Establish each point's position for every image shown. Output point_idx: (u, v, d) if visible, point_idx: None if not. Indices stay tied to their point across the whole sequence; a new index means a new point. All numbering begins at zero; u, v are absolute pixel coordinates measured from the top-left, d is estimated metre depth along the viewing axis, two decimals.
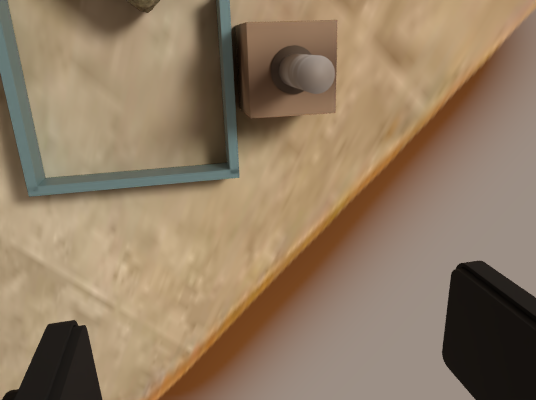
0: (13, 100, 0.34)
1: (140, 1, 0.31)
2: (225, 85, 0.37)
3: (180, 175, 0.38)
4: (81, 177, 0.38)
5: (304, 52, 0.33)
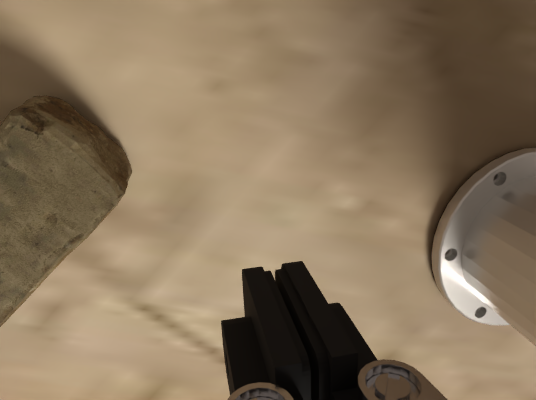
0: None
1: None
2: None
3: None
4: None
5: None
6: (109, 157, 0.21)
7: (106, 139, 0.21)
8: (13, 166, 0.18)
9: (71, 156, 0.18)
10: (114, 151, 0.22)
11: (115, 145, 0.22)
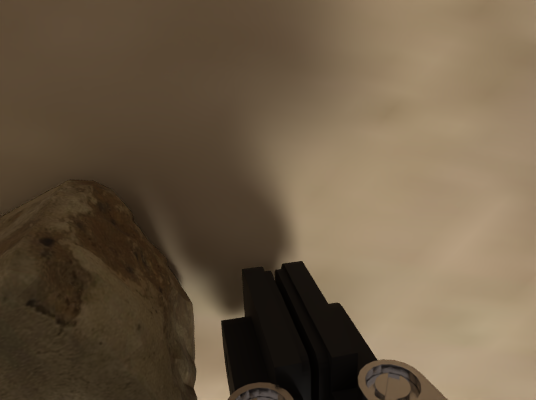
0: None
1: None
2: None
3: None
4: None
5: None
6: (178, 345, 0.10)
7: (177, 293, 0.11)
8: None
9: (122, 378, 0.08)
10: (182, 314, 0.11)
11: (183, 297, 0.11)
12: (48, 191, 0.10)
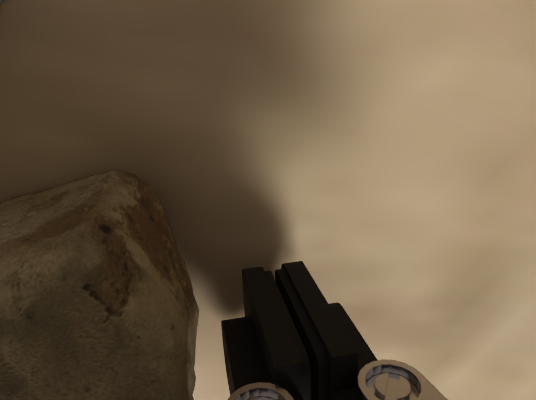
0: None
1: None
2: None
3: None
4: None
5: None
6: (189, 349, 0.10)
7: (192, 298, 0.11)
8: (7, 357, 0.07)
9: (148, 375, 0.08)
10: (192, 319, 0.11)
11: (194, 303, 0.12)
12: (91, 177, 0.10)
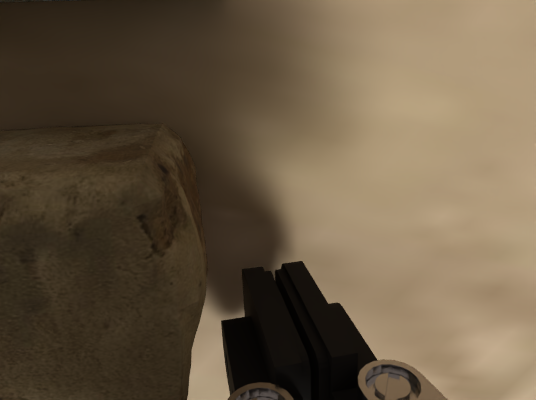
0: None
1: None
2: None
3: None
4: None
5: None
6: None
7: None
8: (41, 271, 0.07)
9: (169, 325, 0.08)
10: None
11: None
12: (137, 124, 0.10)
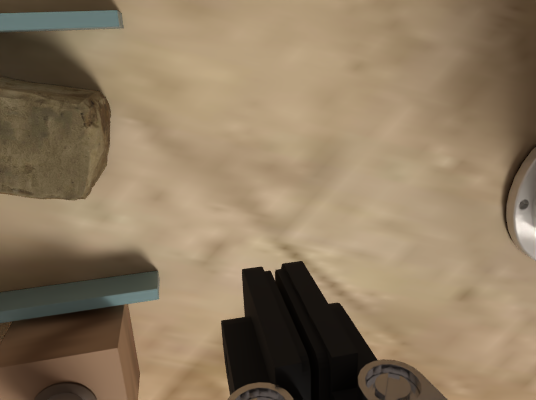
0: None
1: None
2: (41, 306, 0.27)
3: None
4: None
5: None
6: (98, 167, 0.25)
7: (107, 153, 0.26)
8: (48, 124, 0.22)
9: (86, 153, 0.23)
10: (103, 163, 0.26)
11: (106, 159, 0.27)
12: None
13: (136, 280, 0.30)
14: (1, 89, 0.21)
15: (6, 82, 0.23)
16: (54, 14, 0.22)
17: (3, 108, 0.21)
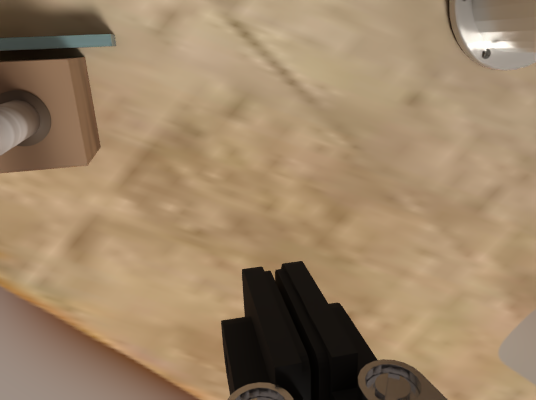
0: None
1: None
2: (1, 39, 0.30)
3: None
4: None
5: (43, 130, 0.29)
6: None
7: None
8: None
9: None
10: None
11: None
12: None
13: None
14: None
15: None
16: None
17: None
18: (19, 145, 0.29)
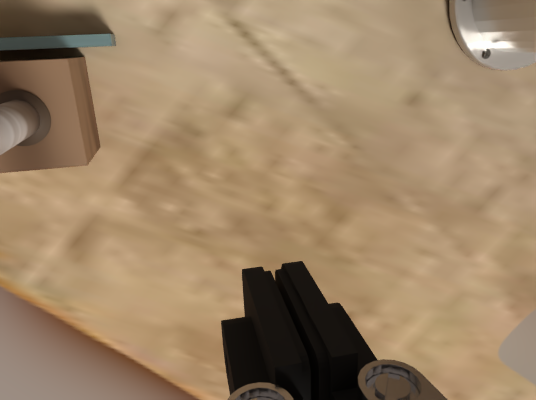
0: None
1: None
2: (1, 38, 0.30)
3: None
4: None
5: (43, 130, 0.29)
6: None
7: None
8: None
9: None
10: None
11: None
12: None
13: None
14: None
15: None
16: None
17: None
18: (19, 145, 0.29)
